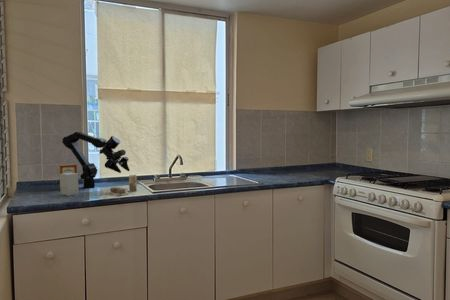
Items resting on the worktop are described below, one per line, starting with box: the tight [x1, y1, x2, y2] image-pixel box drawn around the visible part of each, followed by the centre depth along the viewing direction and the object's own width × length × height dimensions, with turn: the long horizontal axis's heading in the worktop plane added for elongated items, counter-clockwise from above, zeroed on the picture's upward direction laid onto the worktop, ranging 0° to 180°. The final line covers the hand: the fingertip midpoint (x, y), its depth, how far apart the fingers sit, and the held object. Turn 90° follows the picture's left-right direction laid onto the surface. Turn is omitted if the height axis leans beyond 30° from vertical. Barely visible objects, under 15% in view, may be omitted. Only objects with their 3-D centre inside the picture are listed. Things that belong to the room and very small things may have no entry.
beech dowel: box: [128, 174, 138, 192], centre depth 217 cm, size 4×4×10 cm
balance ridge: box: [106, 186, 130, 197], centre depth 206 cm, size 11×8×4 cm
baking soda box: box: [58, 163, 78, 190], centre depth 222 cm, size 10×6×16 cm
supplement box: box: [59, 172, 80, 197], centre depth 204 cm, size 7×7×13 cm
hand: (125, 171), depth 218 cm, fingers open, 9 cm apart
